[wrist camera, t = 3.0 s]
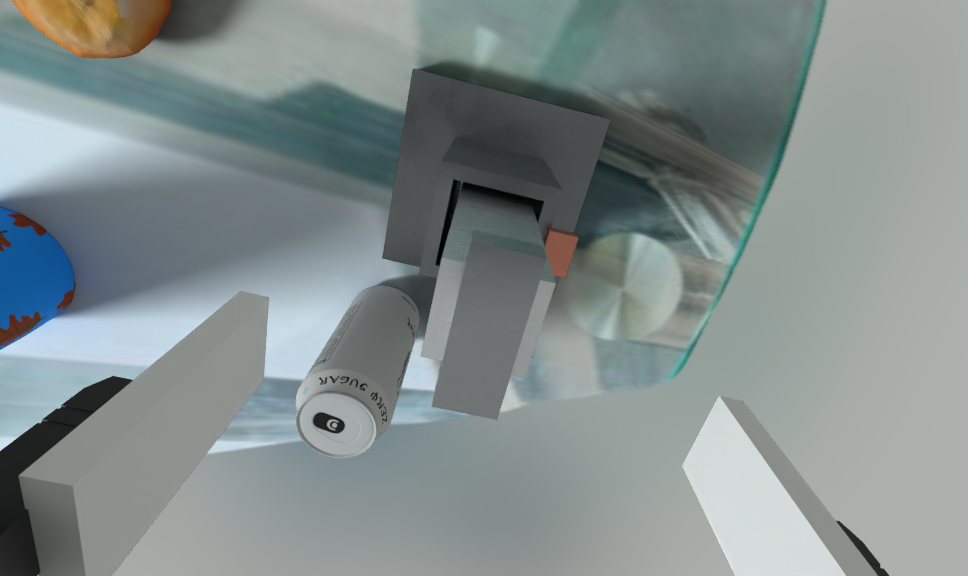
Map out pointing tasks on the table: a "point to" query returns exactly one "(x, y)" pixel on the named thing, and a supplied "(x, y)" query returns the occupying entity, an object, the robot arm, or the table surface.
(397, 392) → the energy drink can
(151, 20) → the fruit
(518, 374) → the column
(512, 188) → the stand base
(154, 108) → the table surface
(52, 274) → the thermos
